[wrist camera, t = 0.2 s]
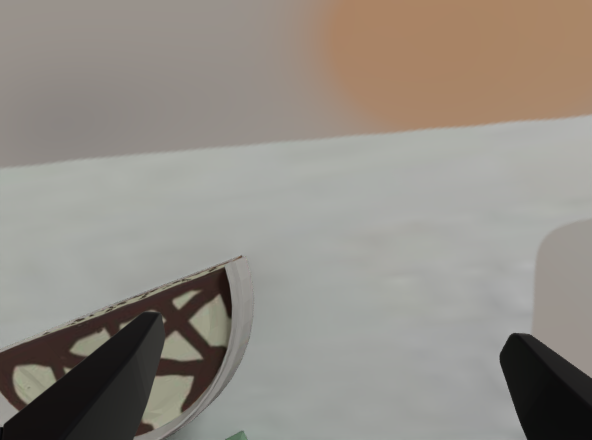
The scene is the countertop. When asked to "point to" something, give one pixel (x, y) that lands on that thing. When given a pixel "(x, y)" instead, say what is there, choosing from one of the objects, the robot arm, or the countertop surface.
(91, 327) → the food container
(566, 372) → the robot arm
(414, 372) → the countertop surface
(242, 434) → the green block on stand
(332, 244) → the countertop surface
